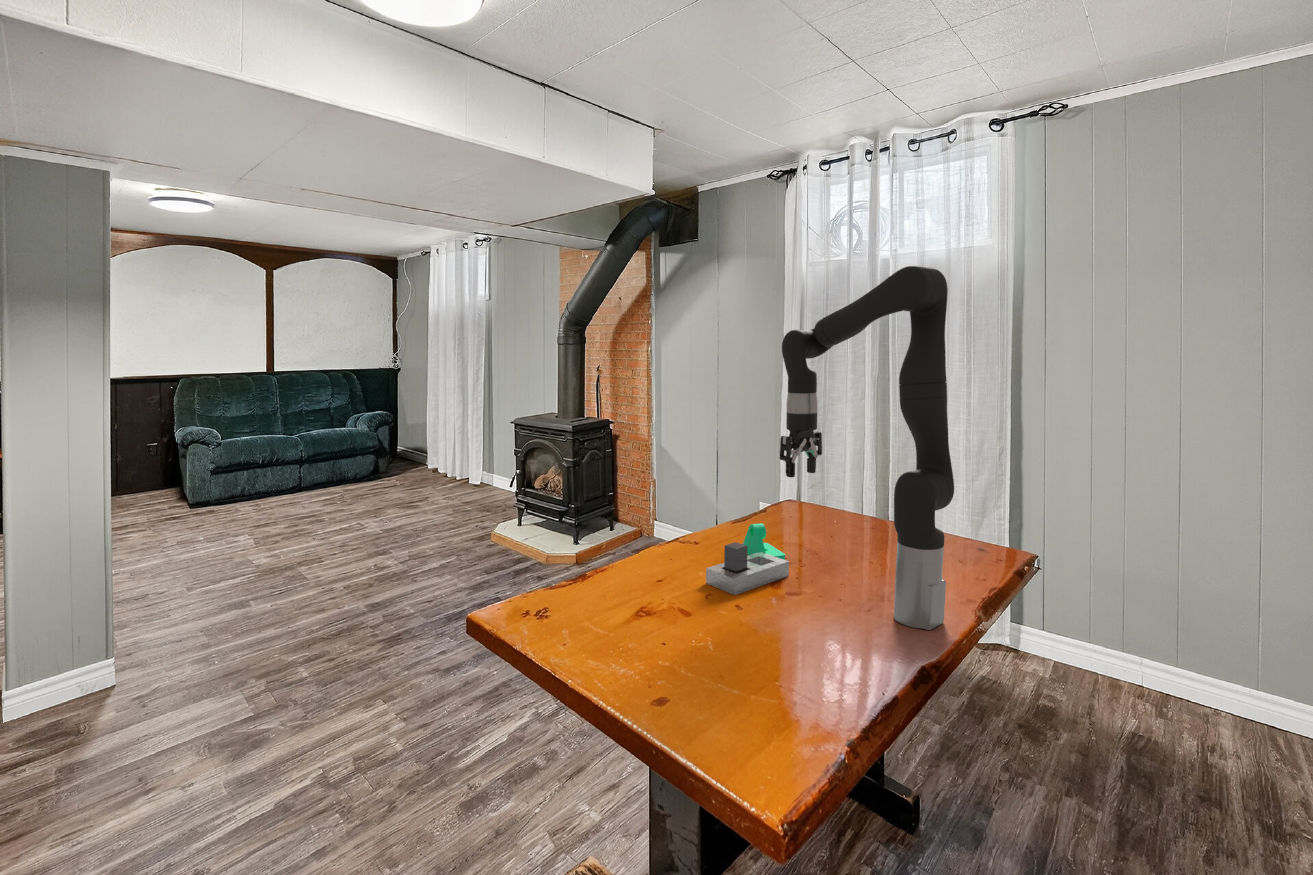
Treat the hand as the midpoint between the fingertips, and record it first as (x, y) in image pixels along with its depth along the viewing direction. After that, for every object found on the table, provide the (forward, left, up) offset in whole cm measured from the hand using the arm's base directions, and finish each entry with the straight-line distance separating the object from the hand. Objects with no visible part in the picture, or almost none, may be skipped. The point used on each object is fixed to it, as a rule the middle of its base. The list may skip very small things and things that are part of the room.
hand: (801, 474), depth 159 cm
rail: (+7, +11, -27) cm, 30 cm away
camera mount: (+16, -5, -27) cm, 32 cm away
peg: (+7, +16, -27) cm, 32 cm away
